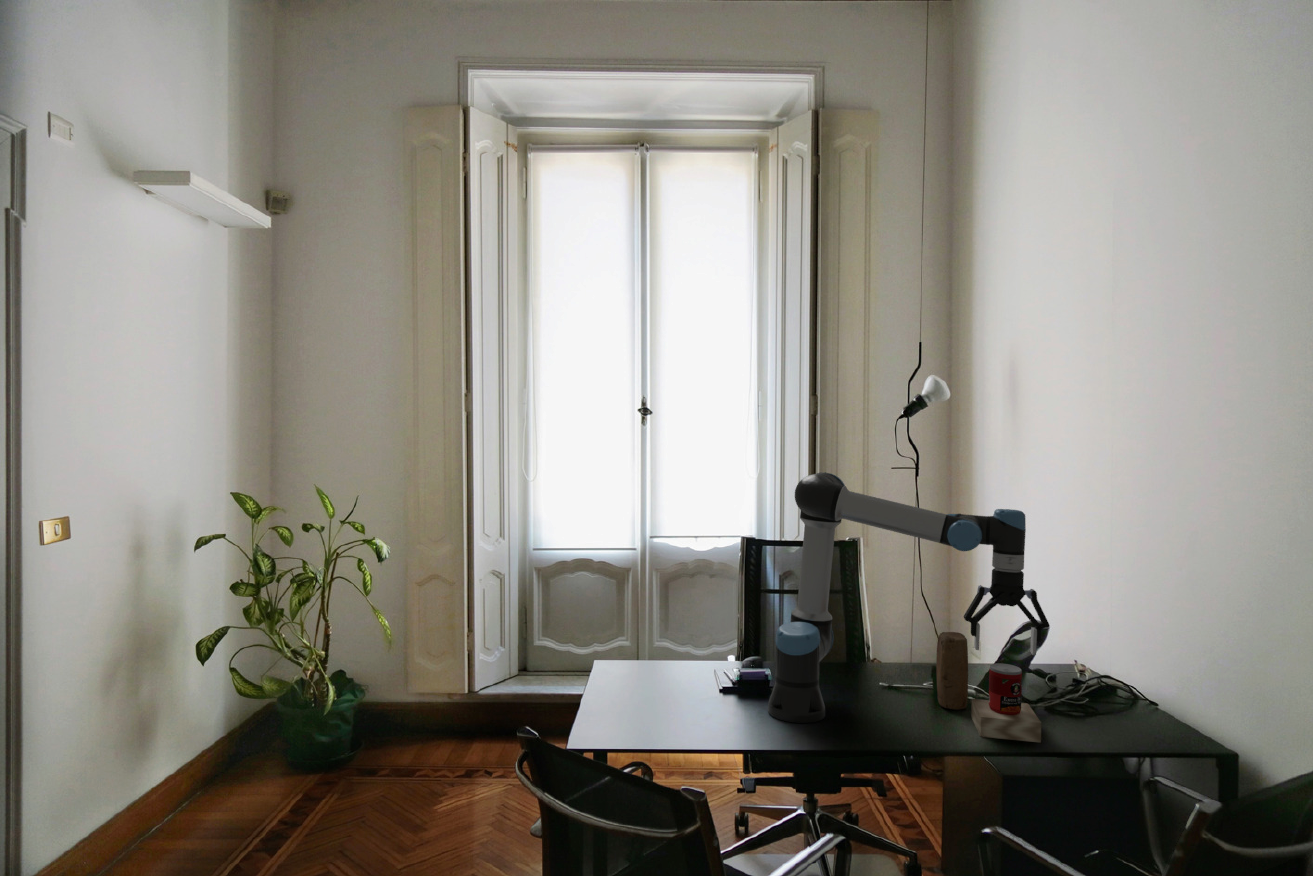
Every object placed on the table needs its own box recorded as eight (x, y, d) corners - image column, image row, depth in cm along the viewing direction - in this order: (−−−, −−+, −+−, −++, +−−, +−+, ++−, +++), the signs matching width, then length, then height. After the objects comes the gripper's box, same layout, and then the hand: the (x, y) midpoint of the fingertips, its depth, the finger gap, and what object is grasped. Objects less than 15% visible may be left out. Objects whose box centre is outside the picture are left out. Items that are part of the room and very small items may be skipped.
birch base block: (980, 736, 196) (980, 717, 196) (971, 717, 210) (971, 698, 210) (1040, 742, 193) (1041, 722, 193) (1027, 722, 207) (1027, 703, 207)
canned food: (1003, 716, 197) (1003, 673, 196) (981, 706, 204) (982, 664, 204) (1028, 714, 199) (1029, 671, 199) (1006, 703, 206) (1007, 662, 206)
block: (968, 712, 214) (970, 639, 213) (940, 710, 215) (941, 637, 215) (961, 699, 224) (962, 630, 224) (933, 697, 226) (935, 628, 225)
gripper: (958, 568, 200) (955, 650, 201) (1064, 575, 195) (1061, 660, 195) (954, 563, 208) (951, 642, 208) (1056, 570, 202) (1053, 651, 202)
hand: (1004, 651), depth 202 cm, fingers open, 13 cm apart
